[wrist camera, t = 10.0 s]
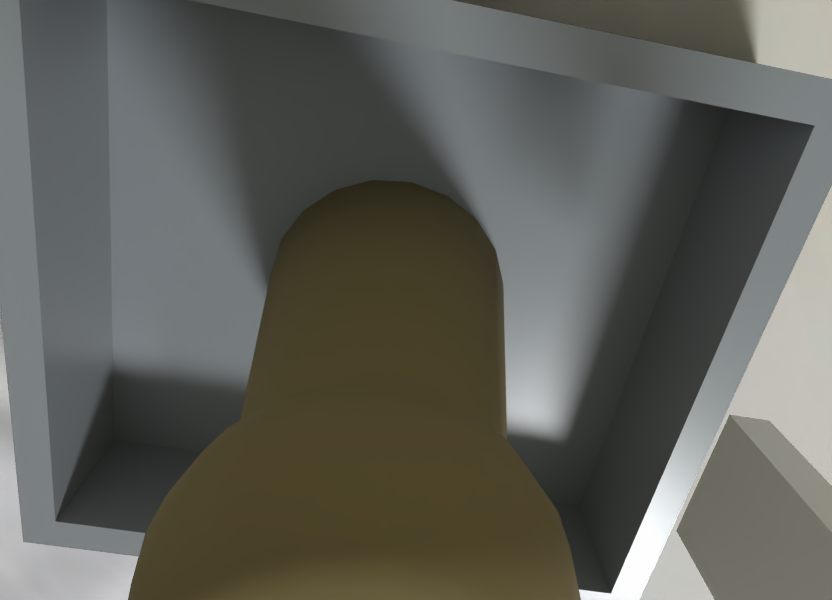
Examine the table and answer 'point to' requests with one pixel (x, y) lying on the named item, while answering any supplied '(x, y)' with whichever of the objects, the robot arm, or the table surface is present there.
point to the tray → (388, 161)
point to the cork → (367, 428)
